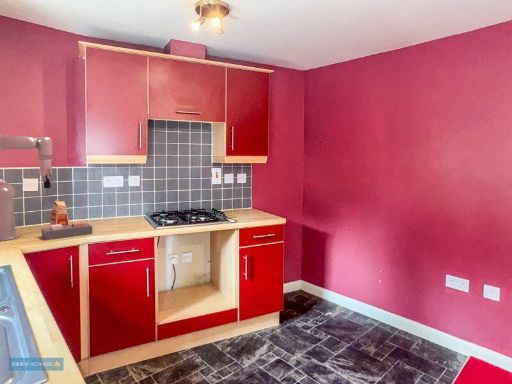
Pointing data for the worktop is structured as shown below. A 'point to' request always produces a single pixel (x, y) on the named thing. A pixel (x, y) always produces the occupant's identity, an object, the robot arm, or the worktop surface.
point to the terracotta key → (77, 224)
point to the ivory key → (56, 227)
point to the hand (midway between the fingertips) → (47, 187)
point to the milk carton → (59, 214)
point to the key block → (66, 232)
